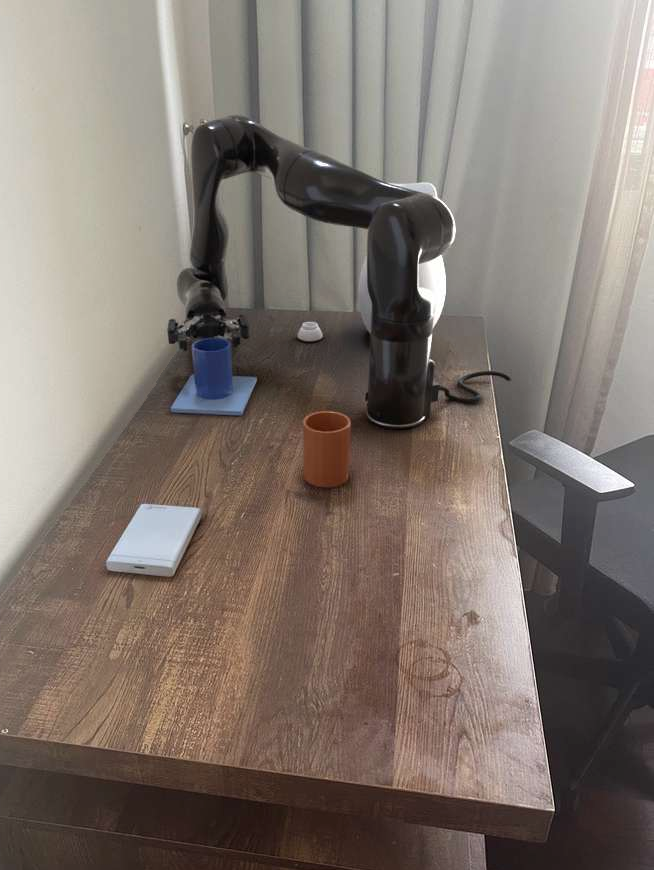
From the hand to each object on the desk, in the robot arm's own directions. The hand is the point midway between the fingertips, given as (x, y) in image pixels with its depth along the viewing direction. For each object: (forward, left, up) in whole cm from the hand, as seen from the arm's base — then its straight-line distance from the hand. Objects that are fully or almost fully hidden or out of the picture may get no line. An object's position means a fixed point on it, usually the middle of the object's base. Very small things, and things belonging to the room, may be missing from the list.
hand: (210, 344), depth 125 cm
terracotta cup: (-5, +35, -8) cm, 36 cm away
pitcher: (-40, -6, -9) cm, 42 cm away
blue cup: (+1, +3, -8) cm, 8 cm away
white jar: (-25, -15, -9) cm, 31 cm away
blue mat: (+1, +3, -8) cm, 9 cm away
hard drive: (+21, +41, -9) cm, 46 cm away
